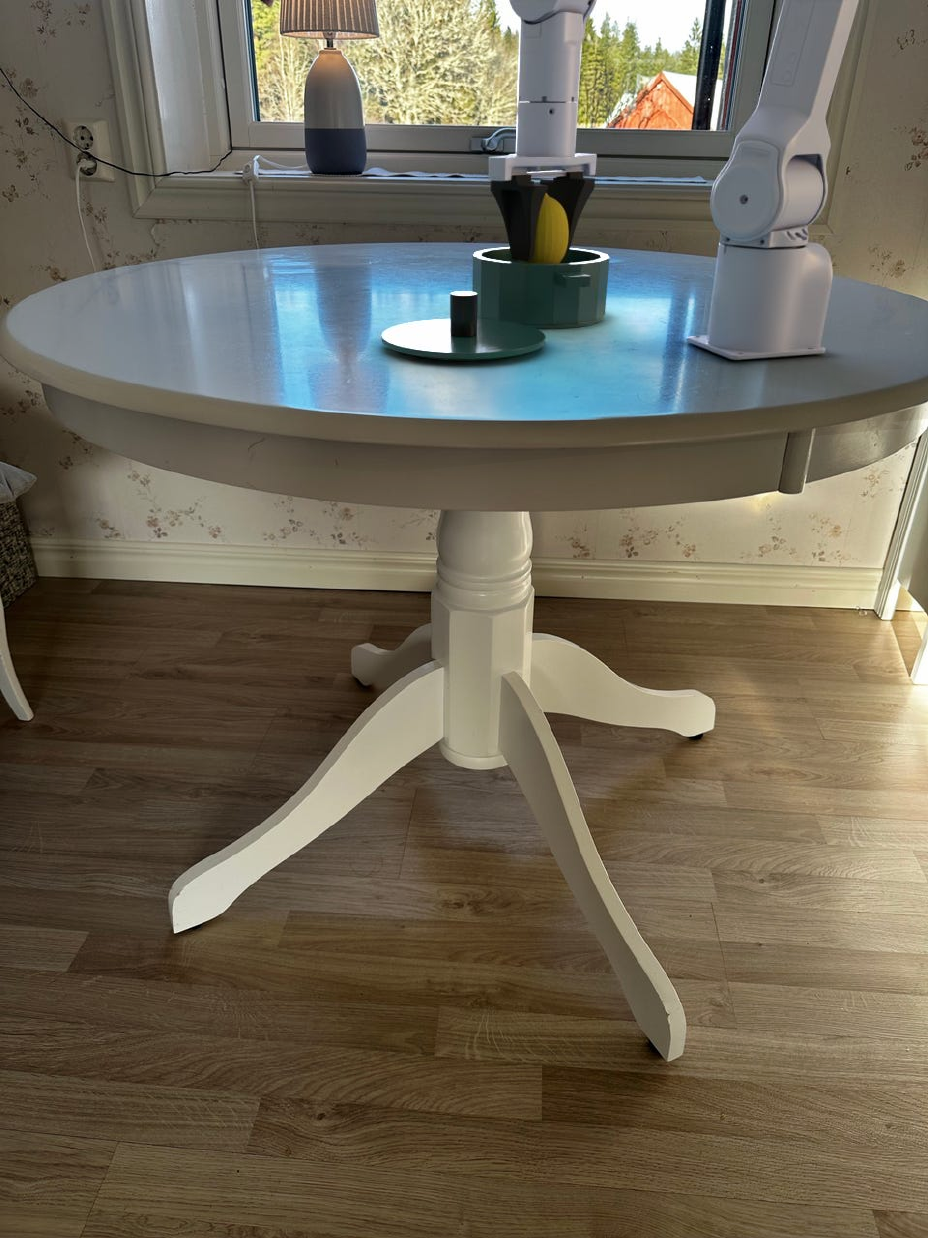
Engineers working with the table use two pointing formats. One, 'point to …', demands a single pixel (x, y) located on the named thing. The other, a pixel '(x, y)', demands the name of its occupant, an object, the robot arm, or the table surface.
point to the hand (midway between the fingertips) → (540, 257)
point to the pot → (541, 289)
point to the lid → (463, 335)
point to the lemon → (550, 233)
